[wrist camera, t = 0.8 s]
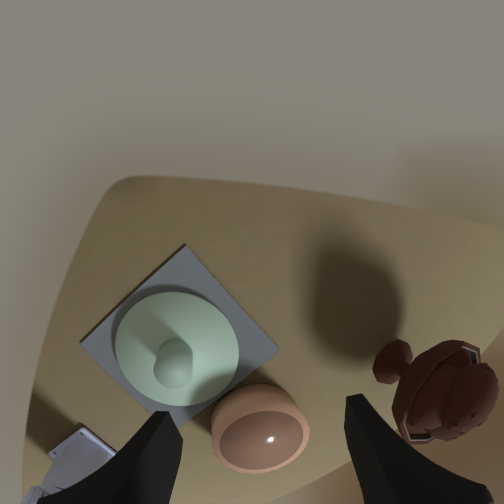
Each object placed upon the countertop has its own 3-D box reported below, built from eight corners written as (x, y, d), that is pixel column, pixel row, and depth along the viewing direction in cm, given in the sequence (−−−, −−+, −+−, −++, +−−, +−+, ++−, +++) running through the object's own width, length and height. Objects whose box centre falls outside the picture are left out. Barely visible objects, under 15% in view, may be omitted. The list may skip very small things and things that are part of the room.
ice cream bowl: (333, 380, 28) (417, 467, 13) (399, 297, 28) (512, 335, 14) (383, 415, 29) (456, 482, 15) (438, 345, 30) (526, 387, 15)
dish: (249, 460, 27) (256, 483, 23) (191, 419, 25) (191, 443, 21) (312, 415, 28) (326, 436, 24) (260, 366, 26) (270, 387, 22)
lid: (177, 419, 25) (175, 446, 21) (94, 342, 23) (78, 360, 19) (262, 354, 26) (273, 374, 22) (179, 264, 24) (174, 270, 20)
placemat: (173, 429, 25) (173, 430, 25) (80, 343, 23) (80, 344, 23) (279, 348, 26) (280, 349, 26) (186, 245, 24) (186, 245, 24)
